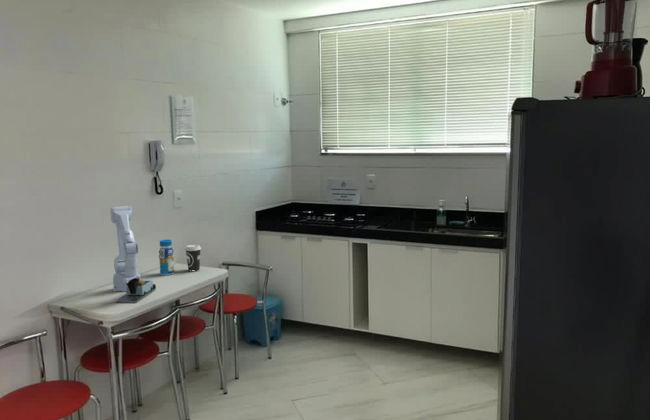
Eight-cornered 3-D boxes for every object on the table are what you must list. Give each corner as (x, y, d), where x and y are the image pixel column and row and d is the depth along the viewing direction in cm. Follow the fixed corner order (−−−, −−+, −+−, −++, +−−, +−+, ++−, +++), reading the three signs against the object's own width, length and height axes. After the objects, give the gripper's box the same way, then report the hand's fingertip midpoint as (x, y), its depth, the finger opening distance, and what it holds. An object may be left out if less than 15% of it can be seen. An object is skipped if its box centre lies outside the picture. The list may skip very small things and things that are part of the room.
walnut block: (134, 291, 261) (133, 282, 260) (137, 289, 265) (137, 280, 264) (142, 291, 260) (141, 282, 260) (145, 289, 264) (144, 280, 264)
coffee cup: (198, 272, 305) (197, 247, 303) (183, 272, 307) (181, 247, 305) (204, 268, 315) (203, 244, 313) (190, 268, 316) (188, 244, 314)
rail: (116, 302, 248) (116, 296, 248) (137, 289, 271) (137, 284, 270) (136, 303, 248) (136, 296, 247) (155, 289, 270) (155, 284, 269)
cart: (125, 294, 257) (124, 286, 256) (136, 287, 269) (135, 280, 269) (144, 294, 256) (143, 286, 256) (154, 288, 268) (153, 280, 268)
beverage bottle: (158, 273, 305) (156, 240, 302) (173, 271, 309) (171, 238, 306) (161, 276, 297) (159, 242, 295) (176, 274, 301) (174, 240, 299)
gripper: (132, 270, 246) (134, 298, 247) (145, 263, 260) (147, 289, 262) (118, 270, 246) (120, 297, 248) (132, 263, 260) (133, 289, 262)
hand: (133, 293), depth 255 cm, fingers closed
